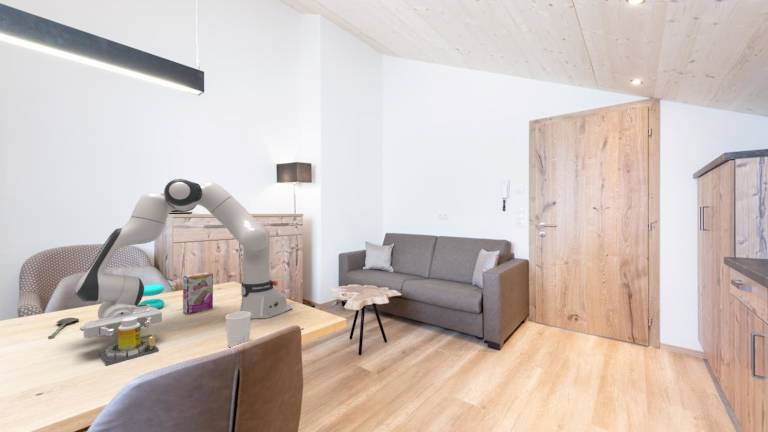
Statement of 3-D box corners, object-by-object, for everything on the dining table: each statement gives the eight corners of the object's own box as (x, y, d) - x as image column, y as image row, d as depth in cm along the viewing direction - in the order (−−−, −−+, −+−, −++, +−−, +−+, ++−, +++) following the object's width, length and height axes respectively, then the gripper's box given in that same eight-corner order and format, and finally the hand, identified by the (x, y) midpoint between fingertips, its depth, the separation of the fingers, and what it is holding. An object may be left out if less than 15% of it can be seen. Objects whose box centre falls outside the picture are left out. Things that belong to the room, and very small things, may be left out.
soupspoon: (81, 321, 135) (60, 325, 132) (81, 313, 135) (59, 317, 132) (63, 337, 116) (37, 342, 113) (62, 328, 116) (36, 332, 113)
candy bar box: (187, 314, 141) (187, 277, 140) (182, 312, 144) (182, 275, 143) (213, 308, 150) (213, 273, 149) (208, 306, 153) (208, 271, 152)
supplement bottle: (138, 352, 102) (137, 320, 101) (115, 356, 99) (115, 322, 99) (142, 345, 107) (142, 314, 107) (121, 348, 104) (121, 317, 104)
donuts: (148, 284, 155) (169, 284, 155) (148, 305, 155) (169, 305, 155) (131, 289, 145) (153, 289, 145) (132, 311, 145) (154, 311, 145)
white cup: (241, 350, 106) (241, 319, 105) (220, 348, 107) (220, 317, 107) (255, 340, 113) (255, 312, 113) (235, 338, 115) (235, 310, 115)
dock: (148, 341, 112) (147, 327, 112) (158, 351, 105) (158, 336, 104) (98, 353, 103) (98, 338, 103) (106, 365, 95) (105, 349, 95)
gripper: (78, 317, 103) (85, 327, 94) (154, 303, 119) (166, 310, 110) (78, 336, 103) (85, 349, 94) (155, 320, 119) (167, 329, 110)
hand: (129, 328), depth 102 cm, fingers open, 8 cm apart
